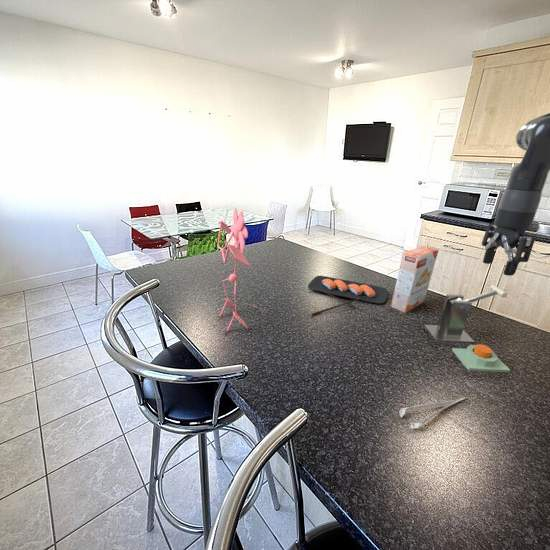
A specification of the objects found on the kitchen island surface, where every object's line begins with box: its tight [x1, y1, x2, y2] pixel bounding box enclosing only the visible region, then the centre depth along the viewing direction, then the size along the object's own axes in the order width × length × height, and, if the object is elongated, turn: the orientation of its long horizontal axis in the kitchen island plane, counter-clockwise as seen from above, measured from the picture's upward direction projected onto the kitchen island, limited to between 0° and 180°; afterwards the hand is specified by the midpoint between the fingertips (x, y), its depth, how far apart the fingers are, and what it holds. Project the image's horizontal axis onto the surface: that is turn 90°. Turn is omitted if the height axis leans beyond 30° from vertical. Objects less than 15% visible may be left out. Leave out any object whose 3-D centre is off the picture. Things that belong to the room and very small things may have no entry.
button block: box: [451, 344, 511, 373], centre depth 76 cm, size 10×8×4 cm
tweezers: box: [399, 396, 467, 430], centre depth 62 cm, size 17×5×2 cm, turn 112°
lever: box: [450, 284, 508, 308], centre depth 82 cm, size 13×5×2 cm, turn 87°
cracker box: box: [390, 245, 439, 314], centre depth 100 cm, size 14×6×21 cm, turn 129°
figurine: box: [216, 208, 267, 343], centre depth 87 cm, size 15×26×35 cm, turn 23°
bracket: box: [423, 294, 476, 344], centre depth 85 cm, size 11×8×13 cm
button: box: [474, 343, 493, 358], centre depth 75 cm, size 4×4×2 cm
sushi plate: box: [307, 275, 389, 316], centre depth 106 cm, size 29×30×4 cm
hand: (497, 268), depth 78 cm, fingers open, 8 cm apart
